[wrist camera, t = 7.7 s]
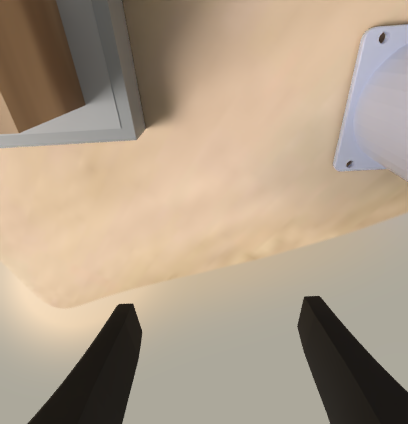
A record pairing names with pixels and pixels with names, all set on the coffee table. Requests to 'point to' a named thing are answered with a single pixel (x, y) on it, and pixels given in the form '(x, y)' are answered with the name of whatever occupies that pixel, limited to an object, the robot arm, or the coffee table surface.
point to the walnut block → (34, 66)
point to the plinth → (94, 80)
